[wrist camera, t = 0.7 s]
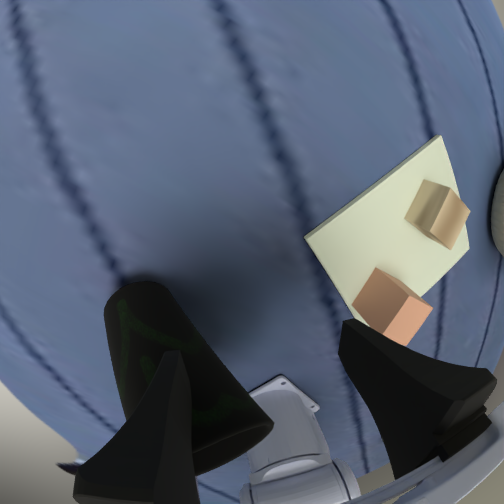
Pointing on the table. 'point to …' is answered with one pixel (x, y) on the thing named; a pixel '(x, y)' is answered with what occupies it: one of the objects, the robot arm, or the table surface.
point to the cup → (197, 366)
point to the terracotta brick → (391, 307)
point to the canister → (498, 215)
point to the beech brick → (438, 213)
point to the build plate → (388, 230)
